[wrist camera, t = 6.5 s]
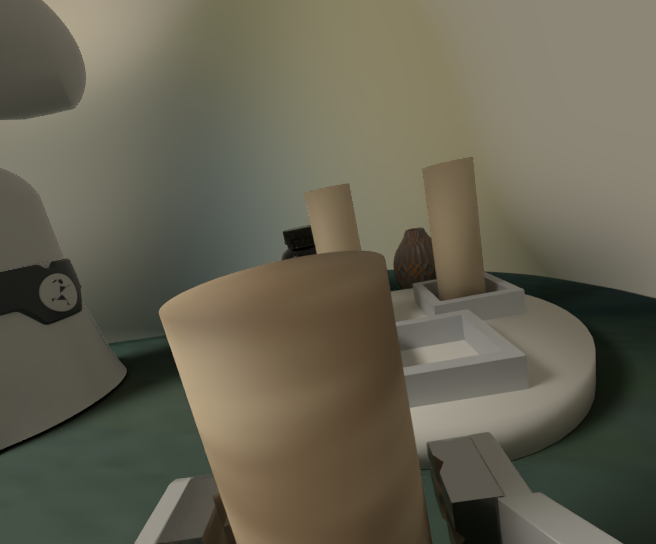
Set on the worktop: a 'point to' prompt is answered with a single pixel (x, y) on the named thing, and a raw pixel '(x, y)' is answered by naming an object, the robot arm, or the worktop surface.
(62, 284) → the robot arm
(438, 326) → the stool seat
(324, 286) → the stool leg
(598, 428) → the worktop surface
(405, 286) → the vase
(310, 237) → the supplement bottle
